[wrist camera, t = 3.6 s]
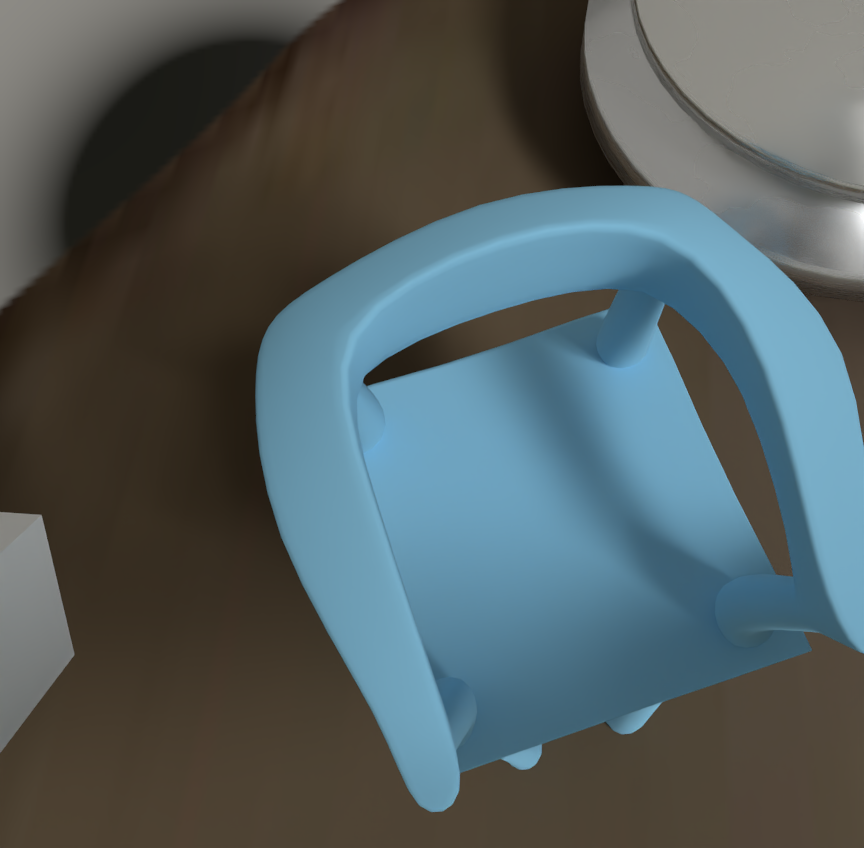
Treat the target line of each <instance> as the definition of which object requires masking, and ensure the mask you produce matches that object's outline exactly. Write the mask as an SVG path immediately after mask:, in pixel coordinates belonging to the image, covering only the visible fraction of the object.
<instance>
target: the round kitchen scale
mask: <svg viewBox="0 0 864 848" xmlns="http://www.w3.org/2000/svg"><path fill="white" fill-rule="evenodd" d="M580 84H581V90H582V96H583V102H584V107H585V110H586V113H587V116H588V119H589V122H590V125H591V128H592V131H593V134H594V136H595V138H596V140H597V142H598V144H599V146H600V148H601V150H602V151H603V153H604V155H605V157H606V159H607V161H608V163H609V164H610V165H611V167H612V168H613V169H614V171H615V172H616V174H617V175H618V176H619V178H620V179H621V181H622V182H623V183H624V185H625V186H651V187H660V188H667V189H671V190H675V191H678V192H681V193H683V194H685V195H688V196H689V197H691V198H693V199H695V200H696V201H698V202H700V203H701V204H702V205H704V206H705V207H706V208H708V209H709V210H711V211H712V212H713V213H714V214H716V215H717V216H718V217H719V218H721V219H722V220H723V221H724V222H725V223H727V224H728V225H729V226H730V227H731V228H733V229H734V230H735V231H736V232H737V233H739V234H740V235H741V236H742V237H743V238H744V239H746V240H747V241H748V242H749V243H750V244H752V245H753V246H754V247H755V248H757V249H758V250H759V251H760V252H761V253H763V254H764V255H765V256H766V257H767V258H769V259H770V260H771V261H772V262H773V263H774V264H775V265H776V266H777V267H778V268H779V269H780V270H781V271H782V272H783V273H784V274H785V275H786V276H787V277H788V278H789V279H791V280H792V281H793V282H794V283H795V285H796V286H797V287H798V288H799V290H800V291H802V292H806V293H810V294H814V295H818V296H823V297H830V298H837V299H845V300H852V301H859V302H864V0H589V2H588V8H587V14H586V19H585V26H584V32H583V39H582V45H581V51H580Z"/></svg>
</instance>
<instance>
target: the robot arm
mask: <svg viewBox="0 0 864 848" xmlns="http://www.w3.org/2000/svg"><path fill="white" fill-rule="evenodd" d="M73 656H74V650H73V646H72V642H71V638H70V633H69V629H68V625H67V621H66V617H65V612H64V608H63V604H62V600H61V595H60V591H59V587H58V583H57V578H56V574H55V570H54V566H53V561H52V557H51V553H50V549H49V544H48V540H47V536H46V532H45V527H44V523H43V519H42V515H36V514H21V513H6V512H0V753H1V751H2V750H3V749H4V747H5V746H6V745H7V743H8V742H9V741H10V739H11V738H12V737H13V735H14V734H15V733H16V731H17V730H18V729H19V727H20V726H21V725H22V724H23V722H24V721H25V720H26V718H27V717H28V716H29V714H30V713H31V712H32V710H33V709H34V708H35V706H36V705H37V704H38V702H39V701H40V700H41V698H42V697H43V696H44V694H45V693H46V692H47V690H48V689H49V688H50V687H51V685H52V684H53V683H54V681H55V680H56V679H57V677H58V676H59V675H60V673H61V672H62V671H63V669H64V668H65V667H66V665H67V664H68V663H69V661H70V660H71V659H72V657H73Z"/></svg>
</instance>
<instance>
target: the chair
mask: <svg viewBox="0 0 864 848" xmlns="http://www.w3.org/2000/svg"><path fill="white" fill-rule="evenodd" d="M598 289H618V292H617V294H616V296H615V298H614V300H613V302H612V304H611V306H610V308H609V309H607V310H604V311H601V312H598V313H595V314H592V315H589V316H585V317H582V318H579V319H576V320H573V321H571V322H568V323H565V324H562V325H559V326H556V327H554V328H551V329H548V330H545V331H542V332H540V333H537V334H534V335H531V336H528V337H525V338H523V339H520V340H517V341H514V342H511V343H508V344H505V345H502V346H499V347H496V348H493V349H490V350H486V351H483V352H480V353H477V354H474V355H471V356H468V357H465V358H461V359H458V360H455V361H452V362H449V363H446V364H443V365H439V366H436V367H432V368H429V369H425V370H421V371H418V372H414V373H411V374H407V375H404V376H400V377H397V378H393V379H390V380H386V381H383V382H379V383H375V384H372V385H369V386H366V385H365V384H364V383H363V379H364V376H365V375H366V374H367V373H369V372H370V371H371V370H373V369H374V368H375V367H376V366H378V365H379V364H380V363H381V362H383V361H384V360H385V359H386V358H388V357H390V356H392V355H394V354H396V353H397V352H399V351H401V350H403V349H405V348H407V347H408V346H410V345H412V344H414V343H416V342H417V341H419V340H421V339H424V338H426V337H429V336H431V335H433V334H436V333H438V332H440V331H443V330H445V329H448V328H450V327H452V326H455V325H457V324H460V323H463V322H466V321H469V320H472V319H475V318H477V317H480V316H483V315H486V314H489V313H492V312H495V311H498V310H502V309H505V308H509V307H512V306H516V305H519V304H522V303H526V302H529V301H533V300H537V299H542V298H546V297H551V296H556V295H560V294H565V293H570V292H578V291H588V290H598ZM665 304H667V305H668V306H670V307H672V308H674V309H675V310H676V311H677V312H678V313H679V314H680V315H682V316H683V317H684V318H685V319H686V320H687V321H688V322H689V323H691V324H692V325H693V326H694V327H695V328H696V329H697V330H698V331H699V332H700V333H701V334H702V335H703V337H704V338H705V339H706V340H707V342H708V343H709V344H710V345H711V347H712V348H713V349H714V351H715V352H716V353H717V354H718V356H719V357H720V358H721V359H722V361H723V362H724V364H725V365H726V367H727V369H728V371H729V372H730V374H731V376H732V378H733V379H734V381H735V383H736V385H737V386H738V388H739V390H740V392H741V394H742V396H743V398H744V401H745V403H746V406H747V408H748V411H749V413H750V416H751V418H752V421H753V423H754V426H755V428H756V431H757V433H758V436H759V438H760V441H761V444H762V448H763V451H764V454H765V457H766V461H767V464H768V467H769V470H770V474H771V477H772V480H773V484H774V487H775V491H776V495H777V499H778V503H779V507H780V511H781V515H782V519H783V523H784V527H785V531H786V537H787V542H788V548H789V554H790V559H791V565H792V571H793V577H791V576H782V575H776V574H775V572H774V570H773V568H772V566H771V564H770V562H769V560H768V558H767V556H766V554H765V552H764V550H763V548H762V546H761V544H760V542H759V540H758V538H757V536H756V534H755V533H754V531H753V529H752V527H751V525H750V523H749V521H748V519H747V517H746V515H745V513H744V511H743V509H742V507H741V505H740V503H739V501H738V499H737V498H736V495H735V493H734V491H733V489H732V487H731V485H730V483H729V481H728V479H727V477H726V474H725V472H724V470H723V468H722V466H721V464H720V462H719V460H718V458H717V456H716V453H715V451H714V449H713V447H712V445H711V443H710V441H709V439H708V437H707V435H706V432H705V430H704V428H703V426H702V424H701V421H700V419H699V417H698V415H697V412H696V410H695V408H694V405H693V403H692V401H691V399H690V396H689V394H688V392H687V389H686V387H685V385H684V383H683V380H682V378H681V376H680V373H679V371H678V369H677V366H676V364H675V362H674V360H673V357H672V355H671V353H670V351H669V349H668V347H667V345H666V343H665V341H664V339H663V337H662V334H661V332H660V330H659V328H658V326H657V323H658V320H659V318H660V315H661V312H662V310H663V307H664V305H665ZM255 398H256V425H257V435H258V444H259V453H260V459H261V464H262V468H263V473H264V478H265V483H266V488H267V493H268V496H269V499H270V503H271V506H272V509H273V512H274V516H275V519H276V522H277V525H278V529H279V532H280V535H281V538H282V540H283V543H284V545H285V547H286V549H287V552H288V554H289V556H290V558H291V561H292V563H293V565H294V567H295V570H296V572H297V574H298V576H299V579H300V581H301V583H302V585H303V587H304V589H305V591H306V593H307V595H308V596H309V598H310V600H311V602H312V604H313V606H314V608H315V610H316V612H317V613H318V615H319V617H320V619H321V621H322V623H323V625H324V627H325V629H326V630H327V632H328V634H329V636H330V638H331V639H332V641H333V643H334V645H335V646H336V648H337V650H338V652H339V653H340V655H341V657H342V659H343V660H344V662H345V664H346V666H347V667H348V669H349V671H350V673H351V674H352V676H353V678H354V680H355V682H356V683H357V685H358V687H359V689H360V691H361V692H362V694H363V696H364V698H365V700H366V701H367V703H368V705H369V707H370V708H371V710H372V712H373V714H374V716H375V718H376V721H377V723H378V725H379V727H380V729H381V731H382V733H383V735H384V737H385V739H386V742H387V744H388V746H389V748H390V750H391V753H392V755H393V757H394V760H395V762H396V764H397V767H398V769H399V771H400V773H401V775H402V777H403V779H404V782H405V784H406V786H407V788H408V790H409V792H410V793H411V795H412V796H413V797H414V799H415V800H416V802H417V803H418V804H419V806H421V807H423V808H425V809H427V810H428V811H430V812H439V811H444V810H445V809H447V808H448V807H449V806H451V805H452V804H453V802H454V800H455V798H456V796H457V794H458V792H459V783H460V773H461V772H464V771H467V770H470V769H473V768H476V767H479V766H481V765H484V764H487V763H490V762H493V761H496V760H499V759H502V760H505V761H507V762H509V763H510V764H511V766H513V767H515V768H517V769H520V770H524V769H530V768H531V767H533V766H534V765H536V763H537V762H538V760H539V758H540V756H541V752H542V744H543V743H546V742H549V741H552V740H555V739H558V738H560V737H563V736H566V735H569V734H572V733H574V732H577V731H580V730H583V729H586V728H589V727H592V726H595V725H597V724H600V723H603V722H606V723H607V724H608V725H609V726H610V727H611V728H612V730H613V731H616V732H618V733H620V734H631V733H633V732H635V731H636V730H638V729H639V728H641V727H642V726H643V725H644V724H645V722H646V721H647V720H648V719H649V717H650V716H651V715H652V714H653V712H654V711H655V710H656V709H657V708H658V706H659V705H660V704H661V703H662V702H664V701H667V700H670V699H673V698H676V697H679V696H682V695H684V694H687V693H690V692H693V691H696V690H699V689H702V688H705V687H708V686H711V685H714V684H717V683H720V682H723V681H726V680H729V679H732V678H735V677H737V676H740V675H743V674H746V673H749V672H752V671H755V670H758V669H760V668H763V667H766V666H769V665H772V664H775V663H778V662H781V661H783V660H786V659H789V658H792V657H795V656H798V655H801V654H804V653H806V652H809V651H812V649H811V647H810V645H809V643H808V641H807V639H806V637H805V635H804V632H803V631H806V632H819V633H821V634H823V635H825V636H827V637H830V638H832V639H834V640H836V641H838V642H840V643H842V644H844V645H846V646H848V647H850V648H852V649H854V650H856V651H858V652H861V653H863V654H864V446H863V440H862V434H861V428H860V422H859V417H858V411H857V405H856V399H855V396H854V393H853V390H852V386H851V383H850V380H849V376H848V373H847V370H846V366H845V363H844V360H843V357H842V353H841V351H840V350H839V348H838V346H837V344H836V343H835V341H834V339H833V337H832V335H831V334H830V332H829V330H828V328H827V327H826V325H825V323H824V321H823V319H822V318H821V316H820V314H819V313H818V312H817V310H816V309H815V308H814V307H813V306H812V304H811V303H810V302H809V301H808V299H807V298H806V297H805V296H804V294H803V293H802V292H801V291H800V290H799V288H798V287H797V286H796V285H795V283H794V282H793V281H792V280H791V279H789V278H788V277H787V276H786V275H785V274H784V273H783V272H782V271H781V270H780V269H779V268H778V267H777V266H776V265H775V264H774V263H773V262H772V261H771V260H770V259H769V258H767V257H766V256H765V255H764V254H763V253H761V252H760V251H759V250H758V249H757V248H755V247H754V246H753V245H752V244H750V243H749V242H748V241H747V240H746V239H744V238H743V237H742V236H741V235H740V234H739V233H737V232H736V231H735V230H734V229H733V228H731V227H730V226H729V225H728V224H727V223H725V222H724V221H723V220H722V219H721V218H719V217H718V216H717V215H716V214H714V213H713V212H712V211H711V210H709V209H708V208H706V207H705V206H704V205H702V204H701V203H700V202H698V201H696V200H695V199H693V198H691V197H689V196H688V195H685V194H683V193H681V192H678V191H675V190H671V189H667V188H660V187H651V186H590V187H576V188H563V189H556V190H549V191H543V192H536V193H529V194H523V195H519V196H514V197H510V198H506V199H502V200H498V201H494V202H490V203H486V204H482V205H478V206H476V207H473V208H470V209H468V210H465V211H462V212H459V213H457V214H454V215H451V216H449V217H446V218H443V219H441V220H438V221H435V222H433V223H431V224H429V225H427V226H424V227H422V228H420V229H418V230H416V231H414V232H412V233H409V234H407V235H405V236H403V237H401V238H399V239H397V240H394V241H393V242H391V243H389V244H387V245H385V246H383V247H381V248H380V249H378V250H376V251H374V252H372V253H370V254H368V255H366V256H365V257H363V258H361V259H359V260H357V261H356V262H354V263H352V264H351V265H349V266H347V267H346V268H344V269H342V270H340V271H339V272H337V273H335V274H334V275H332V276H330V277H329V278H327V279H326V280H324V281H322V282H321V283H319V284H318V285H316V286H315V287H313V288H311V289H310V290H308V291H307V292H305V293H304V294H302V295H301V296H300V297H298V298H297V299H296V300H294V301H293V302H291V303H290V304H289V305H288V306H287V307H286V308H284V309H283V310H282V311H281V312H280V313H279V314H278V315H277V316H276V317H275V319H274V320H273V322H272V323H271V324H270V326H269V327H268V329H267V331H266V333H265V335H264V338H263V340H262V343H261V347H260V351H259V354H258V362H257V370H256V392H255Z"/></svg>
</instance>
